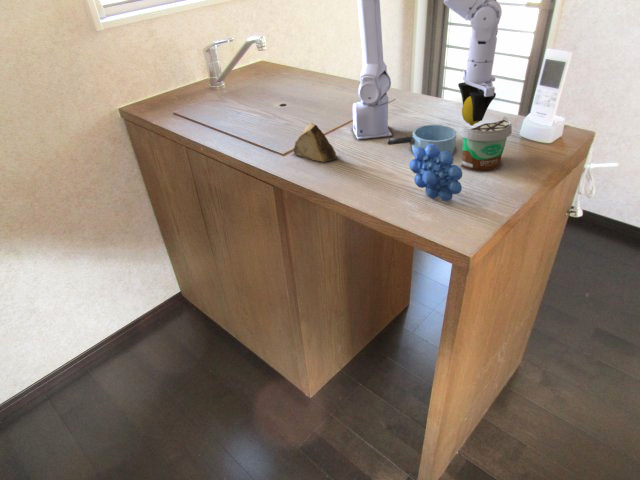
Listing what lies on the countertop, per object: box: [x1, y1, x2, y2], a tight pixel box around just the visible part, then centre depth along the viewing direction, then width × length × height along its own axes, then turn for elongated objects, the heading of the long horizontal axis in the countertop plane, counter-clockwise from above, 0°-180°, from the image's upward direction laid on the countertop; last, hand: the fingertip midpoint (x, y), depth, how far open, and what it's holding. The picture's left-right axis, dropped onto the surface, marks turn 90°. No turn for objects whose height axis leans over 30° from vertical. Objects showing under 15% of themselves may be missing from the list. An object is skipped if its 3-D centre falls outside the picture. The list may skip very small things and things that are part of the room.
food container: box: [460, 116, 513, 172], centre depth 101 cm, size 12×6×10 cm, turn 114°
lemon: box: [461, 96, 481, 127], centre depth 110 cm, size 6×6×8 cm
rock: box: [293, 122, 338, 163], centre depth 113 cm, size 11×9×10 cm
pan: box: [411, 124, 457, 155], centre depth 112 cm, size 10×10×4 cm
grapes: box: [408, 143, 463, 202], centre depth 90 cm, size 12×7×12 cm, turn 52°
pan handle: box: [386, 136, 415, 146], centre depth 111 cm, size 7×2×2 cm, turn 96°
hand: (472, 116), depth 111 cm, fingers closed on lemon, 5 cm apart
